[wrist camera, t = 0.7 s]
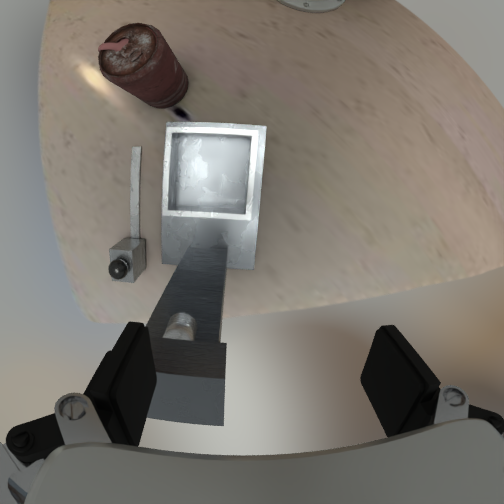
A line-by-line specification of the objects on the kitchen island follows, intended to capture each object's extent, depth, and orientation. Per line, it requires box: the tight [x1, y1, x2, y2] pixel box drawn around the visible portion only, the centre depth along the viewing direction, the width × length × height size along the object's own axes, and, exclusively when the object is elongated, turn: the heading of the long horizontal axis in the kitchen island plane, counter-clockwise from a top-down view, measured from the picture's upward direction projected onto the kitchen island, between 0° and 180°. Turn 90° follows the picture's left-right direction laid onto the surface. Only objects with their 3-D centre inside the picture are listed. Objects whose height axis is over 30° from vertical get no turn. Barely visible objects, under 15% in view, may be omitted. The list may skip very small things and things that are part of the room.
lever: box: [109, 238, 146, 283], centre depth 32 cm, size 4×3×7 cm
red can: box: [98, 23, 188, 108], centre depth 23 cm, size 6×6×14 cm
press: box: [130, 122, 266, 426], centre depth 22 cm, size 19×17×25 cm
